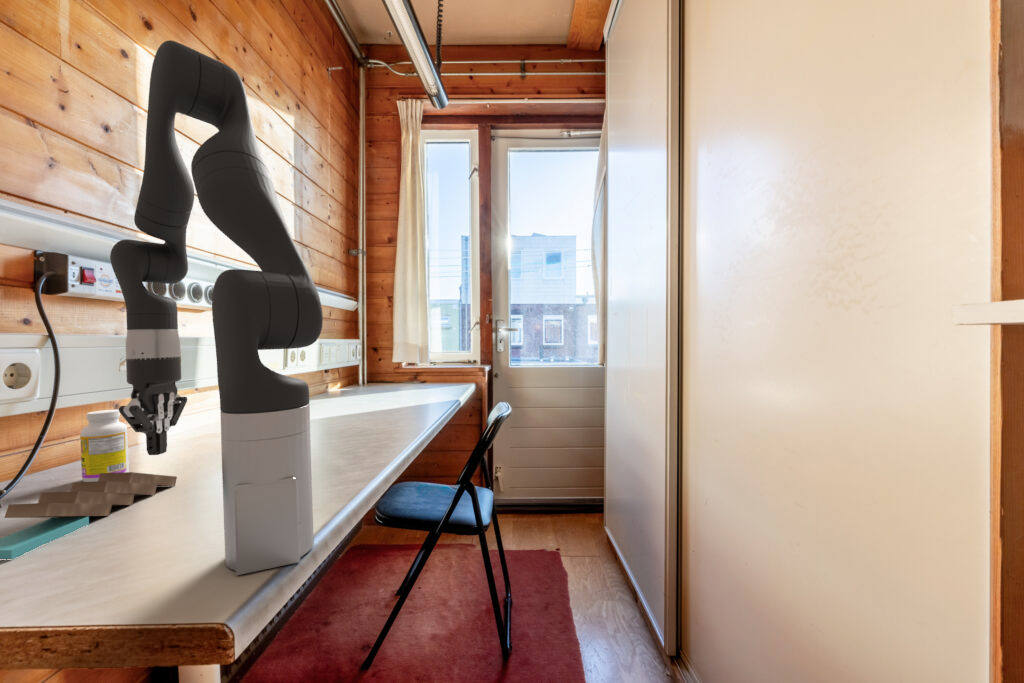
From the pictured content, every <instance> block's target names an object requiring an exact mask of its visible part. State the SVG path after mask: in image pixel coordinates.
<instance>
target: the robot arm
mask: <svg viewBox="0 0 1024 683" xmlns="http://www.w3.org/2000/svg"><path fill="white" fill-rule="evenodd" d="M151 65H152V67H151V72H150V80H149V90H148V91H149V92H148V102H147V116H146V129H145V130H146V131H145V148H144V149H145V152H144V167H143V168H144V169H143V174H142V175H143V176H142V181H141V185H140V190H139V194H138V200H137V203H136V208H135V211H134V218H133V222H134V225H135V227H136V228H137V230H139V231H141V232H142V233H144V234H145V235H148V236H150V237H152V238H153V237H154V238H155V239H158V240H162V241H164V243H159V242H158V243H157V242H153V241H152V242H151V241H143V240H136V239H121V240H119V241H117V242H116V243H114V245H113V246H112V247H111V250H110V254H109V257H110V258H109V260H110V265H111V268H112V270H113V272H114V275H115V278H116V280H117V283H118V285H119V288H120V290H121V293H122V296H123V299H124V304H125V309H126V312H125V313H126V338H125V363H126V364H125V368H126V382H127V384H129V385H132V391H131V394H130V398H131V400H130V401H129V402H128V404H127V405H120V406H119V408H118V410H119V412H120V416H122V417H123V418H124V420H125V421H126V422H127V423H128V425H129V426H130V427H131V428H132V430H134V432H135V433H143V434H144V435H145V440H146V441H145V442H146V452H147V454H148V455H149V456H159V455H163V454H165V453H166V452H167V448H168V431H170V428H171V427H174V426H176V425H177V423H178V421H179V419H180V418H181V415H182V414H183V411H184V408H185V407H186V404H187V402H188V397H187V396H181V395H180V394H178V388H177V384H176V382H179V381H181V379H182V361H181V360H182V358H181V356H182V355H181V341H180V340H181V339H180V335H179V328H178V327H179V325H178V324H179V323H178V322H179V321H178V305H177V301H176V300H175V299H173V298H171V297H168V296H164V295H159V294H156V293H153V292H151V291H149V290H148V288H146V286H145V285H144V283H155V284H164V285H165V284H168V285H171V284H177V283H180V282H182V280H184V279H185V277H186V276H187V274H188V271H189V261H188V252H187V228H188V224H189V221H190V218H191V214H192V210H193V206H194V202H195V192H196V195H197V199H198V203H199V206H200V207H201V210H202V211H203V213H204V215H205V216H206V218H208V220H209V221H210V222H211V223H212V224H213V225H214V226H215V227H216V228H217V229H218V230H219V231H220V232H221V233H222V234H224V236H226V237H227V238H228V239H229V241H231V242H232V243H233V244H235V245H236V246H238V248H240V249H241V250H243V252H245V253H246V254H247V255H248V256H249V257H250V258H251V259H252V260H253V261H254V262H255V264H257V266H258V267H259V269H260V270H252V269H236V268H234V269H233V268H231V269H226V270H224V271H222V272H220V274H219V275H218V276H217V277H216V280H215V282H214V285H213V290H212V296H211V312H212V314H211V315H212V324H213V325H212V326H213V334H214V335H213V336H214V344H215V354H216V355H215V356H216V374H217V375H216V376H217V385H218V386H217V387H218V391H219V392H218V393H219V407H220V408H219V409H220V437H221V439H220V442H221V444H220V445H221V469H222V470H221V473H222V505H223V506H222V507H223V529H224V530H223V531H224V561H225V565H226V567H228V568H229V569H231V570H234V571H235V576H241V575H245V574H250V573H256V572H261V571H263V570H268V569H273V568H278V567H279V568H280V567H282V566H287V565H292V564H296V563H300V561H301V558H302V557H303V556H304V555H306V554H307V553H308V552H310V551H311V550H312V548H313V546H314V544H315V543H314V510H313V507H314V506H313V481H312V480H313V479H312V478H313V477H312V476H313V474H312V448H311V446H312V445H311V442H312V441H311V412H310V411H311V408H310V405H311V404H310V389H309V388H310V386H309V385H308V383H307V382H306V381H305V380H304V379H300V378H297V377H293V376H287V375H284V374H281V373H278V372H276V371H274V370H272V369H270V368H269V367H267V366H266V365H264V363H263V362H262V361H261V359H260V355H259V351H262V350H263V351H265V350H269V351H270V350H284V349H285V350H290V349H301V348H307V347H309V346H311V345H313V344H315V342H317V340H318V339H319V337H320V336H321V333H322V330H323V322H324V321H323V320H324V319H323V308H322V302H321V299H320V296H319V295H320V294H319V291H318V290H317V287H316V284H315V281H314V279H313V277H312V275H311V273H310V271H309V269H308V267H307V265H306V264H305V261H304V259H303V257H302V255H301V253H300V250H299V249H298V247H297V245H296V244H295V242H294V239H293V236H292V235H291V232H290V230H289V227H288V225H287V222H286V219H285V216H284V214H283V211H282V209H281V206H280V203H279V199H278V196H277V192H276V189H275V186H274V183H273V180H272V177H271V175H270V172H269V169H268V167H267V164H266V163H265V160H264V157H263V154H262V151H261V149H260V146H259V142H258V139H257V137H256V136H257V135H256V133H255V129H254V124H253V121H252V116H251V111H250V107H249V106H250V104H249V101H248V96H247V92H246V88H245V86H244V83H243V79H242V77H241V76H240V75H239V73H238V72H237V71H236V70H234V69H233V67H230V66H229V65H227V64H226V63H223V62H222V61H219V60H217V59H215V58H212V57H210V56H208V55H206V54H204V53H202V52H200V51H197V50H195V49H194V48H191V47H189V46H186V45H185V44H182V43H179V42H178V41H175V40H171V39H170V40H166V41H163V42H162V43H161V44H160V46H158V47H157V50H156V52H155V55H154V58H153V62H152V64H151ZM177 113H178V114H182V115H185V116H186V117H190V118H191V119H192V118H193V119H195V120H198V121H201V122H204V123H207V124H209V125H212V126H214V127H215V128H216V129H217V130H218V131H217V132H216V133H215V134H213V135H212V136H210V137H209V138H207V139H206V140H205V141H204V142H203V143H202V144H201V145H200V146H199V147H198V148H197V150H196V152H195V153H194V155H193V157H192V160H191V165H190V168H191V169H190V171H191V175H190V173H189V170H188V168H187V165H186V163H185V161H184V158H183V156H182V154H181V151H180V148H179V145H178V142H177V138H176V133H175V120H176V119H175V118H176V115H177Z"/></svg>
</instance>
